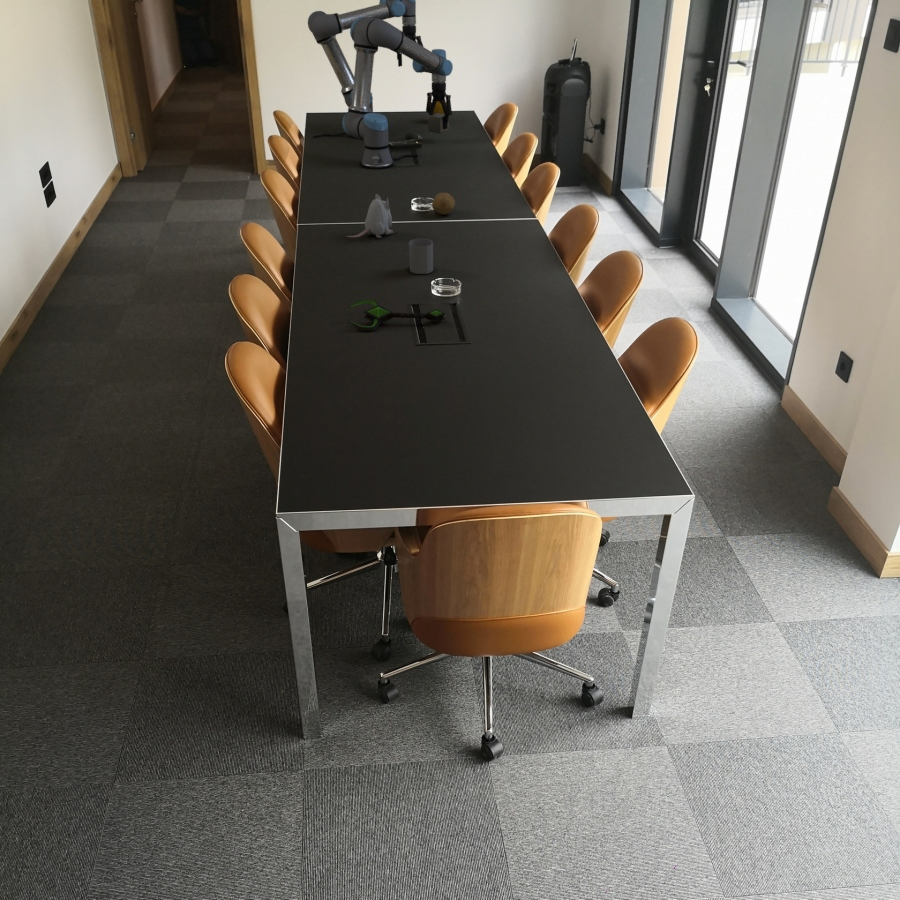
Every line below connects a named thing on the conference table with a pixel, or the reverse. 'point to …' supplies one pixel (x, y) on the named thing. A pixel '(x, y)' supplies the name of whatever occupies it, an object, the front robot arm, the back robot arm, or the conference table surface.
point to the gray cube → (436, 123)
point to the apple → (438, 108)
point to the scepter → (391, 315)
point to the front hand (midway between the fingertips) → (438, 127)
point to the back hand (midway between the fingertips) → (410, 67)
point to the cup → (421, 256)
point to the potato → (443, 203)
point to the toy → (377, 219)
